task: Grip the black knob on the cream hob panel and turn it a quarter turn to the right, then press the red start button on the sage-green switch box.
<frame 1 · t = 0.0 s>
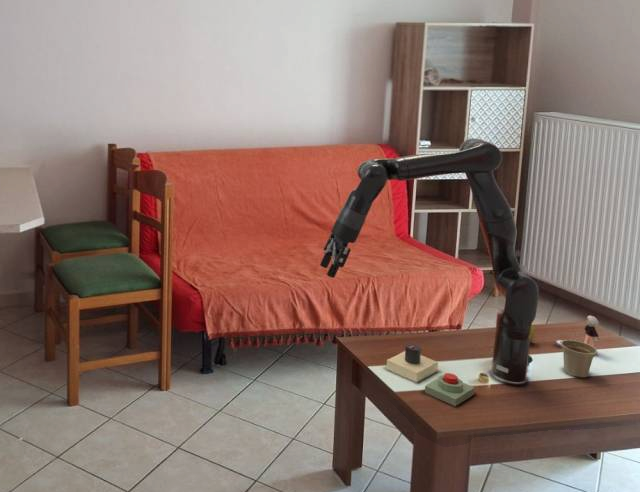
hand: (326, 271, 207), 31 cm above the table, tool tilted 20°, fingers open, 8 cm apart
grandmother figurine: (588, 353, 227), on the table
lemon: (523, 343, 233), on the table
flower pot: (576, 373, 213), on the table
start button: (450, 378, 198), point 4 cm above the table, slide at 0.1 cm
hob knob: (412, 353, 211), point 5 cm above the table, hinge at 0.0°
hob panel: (411, 370, 212), on the table
switch box: (449, 393, 198), on the table
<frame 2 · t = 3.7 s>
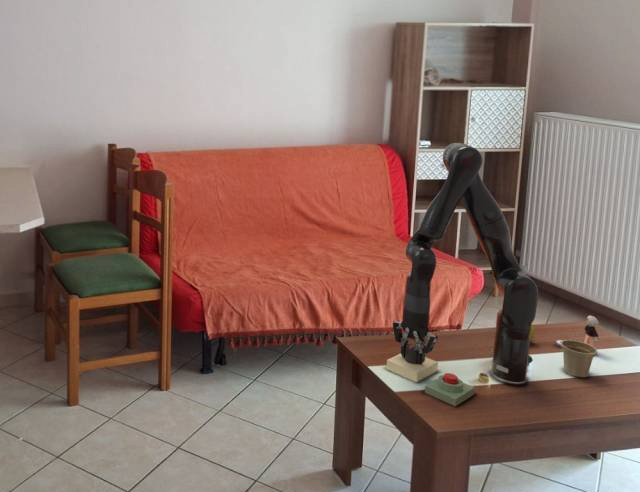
hand: (412, 359, 212), 3 cm above the table, tool pointing down, fingers closed on hob knob, 4 cm apart
hob knob: (412, 353, 211), point 5 cm above the table, hinge at 0.3°, touching gripper
everything else where it was.
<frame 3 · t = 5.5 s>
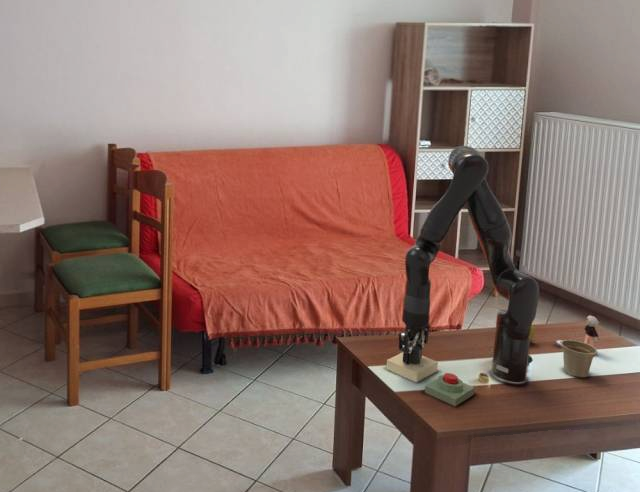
hand: (412, 360, 211), 3 cm above the table, tool pointing down, fingers open, 6 cm apart
hob knob: (412, 353, 211), point 5 cm above the table, hinge at -92.9°
everything else where it was.
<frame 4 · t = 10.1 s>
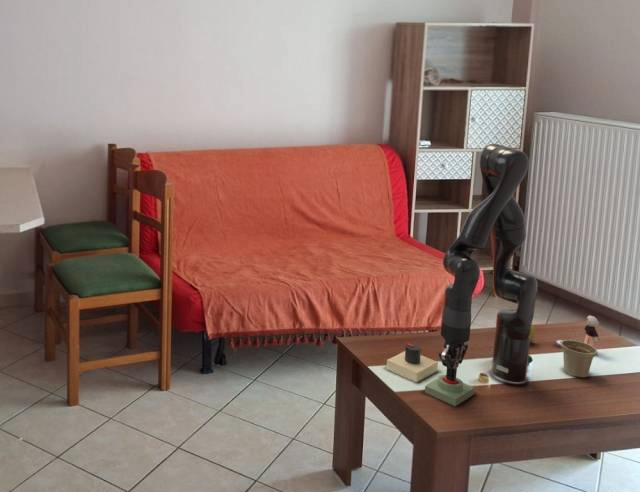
hand: (450, 379, 198), 5 cm above the table, tool pointing down, fingers closed
start button: (450, 381, 198), point 4 cm above the table, slide at -0.7 cm, touching gripper
everything else where it was.
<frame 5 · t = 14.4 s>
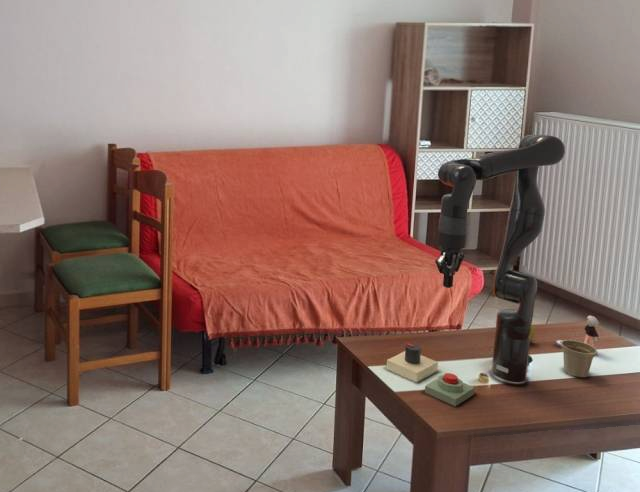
hand: (447, 286, 203), 29 cm above the table, tool pointing down, fingers closed
start button: (450, 378, 198), point 4 cm above the table, slide at 0.1 cm
everything else where it was.
at the end: hob knob at -93° (first picture: +0°); start button pushed in 1.2 cm at the most during the clip and back out by the end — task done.
